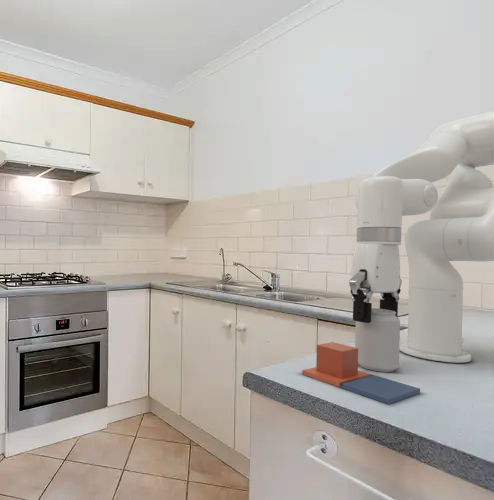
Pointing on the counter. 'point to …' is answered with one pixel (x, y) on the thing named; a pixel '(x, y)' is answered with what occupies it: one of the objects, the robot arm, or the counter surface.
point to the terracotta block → (337, 360)
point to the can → (378, 341)
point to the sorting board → (367, 385)
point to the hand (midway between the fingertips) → (375, 320)
